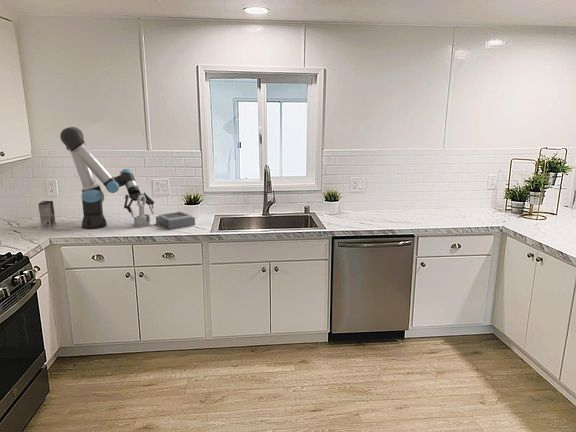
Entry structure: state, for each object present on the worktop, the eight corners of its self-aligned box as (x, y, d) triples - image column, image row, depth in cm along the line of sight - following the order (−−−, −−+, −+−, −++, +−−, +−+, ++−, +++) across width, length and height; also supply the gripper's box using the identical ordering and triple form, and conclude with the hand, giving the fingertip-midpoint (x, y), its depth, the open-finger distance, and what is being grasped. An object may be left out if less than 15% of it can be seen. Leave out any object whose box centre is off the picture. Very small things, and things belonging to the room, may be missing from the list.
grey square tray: (156, 223, 291) (155, 214, 290) (181, 219, 303) (181, 210, 302) (168, 229, 277) (168, 219, 276) (195, 225, 290) (194, 215, 288)
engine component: (131, 226, 283) (145, 227, 282) (129, 196, 279) (143, 197, 277) (140, 222, 294) (153, 223, 292) (138, 193, 289) (151, 194, 287)
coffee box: (45, 224, 285) (42, 200, 282) (56, 224, 287) (53, 200, 283) (40, 228, 277) (37, 203, 273) (51, 227, 278) (48, 203, 274)
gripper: (149, 190, 302) (159, 214, 295) (113, 194, 286) (123, 220, 279) (151, 183, 297) (162, 208, 290) (115, 187, 281) (125, 213, 274)
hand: (143, 214), depth 284 cm, fingers open, 13 cm apart
